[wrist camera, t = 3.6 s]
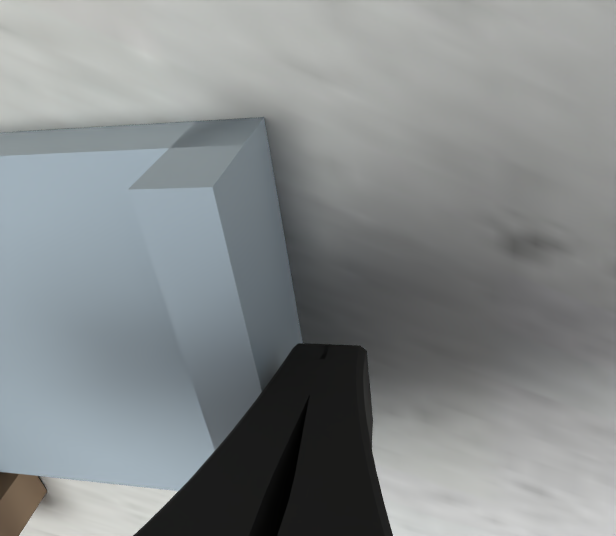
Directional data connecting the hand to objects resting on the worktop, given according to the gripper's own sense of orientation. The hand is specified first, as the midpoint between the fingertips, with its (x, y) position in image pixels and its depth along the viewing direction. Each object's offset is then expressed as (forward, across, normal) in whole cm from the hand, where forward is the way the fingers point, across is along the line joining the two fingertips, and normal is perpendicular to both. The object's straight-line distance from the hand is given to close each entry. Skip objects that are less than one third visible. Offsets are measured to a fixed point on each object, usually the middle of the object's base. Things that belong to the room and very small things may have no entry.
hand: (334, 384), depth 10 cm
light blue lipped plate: (+2, +6, 0) cm, 7 cm away
